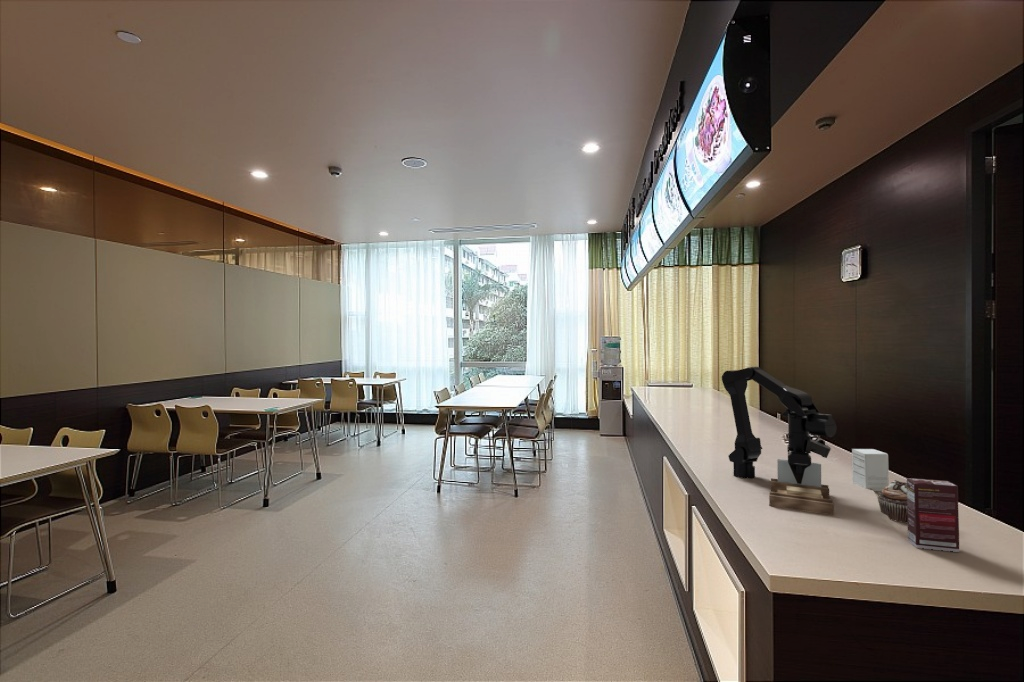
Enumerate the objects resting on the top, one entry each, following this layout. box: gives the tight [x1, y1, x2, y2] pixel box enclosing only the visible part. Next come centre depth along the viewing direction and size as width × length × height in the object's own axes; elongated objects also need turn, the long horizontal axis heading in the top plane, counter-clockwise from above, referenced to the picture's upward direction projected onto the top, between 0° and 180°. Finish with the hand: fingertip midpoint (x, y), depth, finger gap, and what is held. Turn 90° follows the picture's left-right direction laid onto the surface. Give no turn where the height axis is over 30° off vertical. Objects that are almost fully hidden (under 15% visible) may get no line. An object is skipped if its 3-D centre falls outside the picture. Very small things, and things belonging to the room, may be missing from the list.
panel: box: [777, 458, 822, 487], centre depth 152 cm, size 12×2×10 cm, turn 60°
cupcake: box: [877, 479, 907, 523], centre depth 134 cm, size 10×10×10 cm
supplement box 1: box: [851, 448, 890, 492], centre depth 159 cm, size 7×7×13 cm
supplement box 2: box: [906, 477, 960, 553], centre depth 115 cm, size 9×5×16 cm, turn 71°
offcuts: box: [777, 486, 823, 498], centre depth 146 cm, size 12×5×3 cm, turn 60°
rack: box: [768, 477, 835, 516], centre depth 146 cm, size 16×20×4 cm
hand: (798, 479), depth 152 cm, fingers open, 9 cm apart
